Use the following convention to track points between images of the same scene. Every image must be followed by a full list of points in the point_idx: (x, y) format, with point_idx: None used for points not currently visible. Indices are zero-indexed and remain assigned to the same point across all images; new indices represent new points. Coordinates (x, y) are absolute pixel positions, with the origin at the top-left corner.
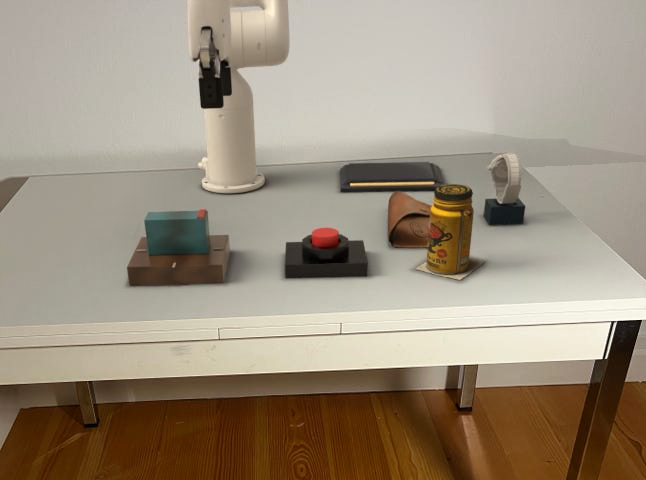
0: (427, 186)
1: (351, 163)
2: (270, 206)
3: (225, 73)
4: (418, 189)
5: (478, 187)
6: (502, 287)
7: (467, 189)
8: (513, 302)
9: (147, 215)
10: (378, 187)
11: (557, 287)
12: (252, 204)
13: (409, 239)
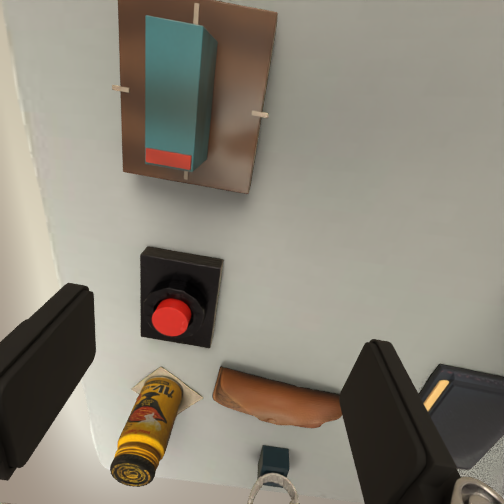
0: None
1: None
2: (431, 269)
3: (371, 483)
4: None
5: None
6: (119, 408)
7: (127, 483)
8: (89, 405)
9: (177, 23)
10: None
11: (118, 435)
12: (457, 245)
13: (218, 384)
